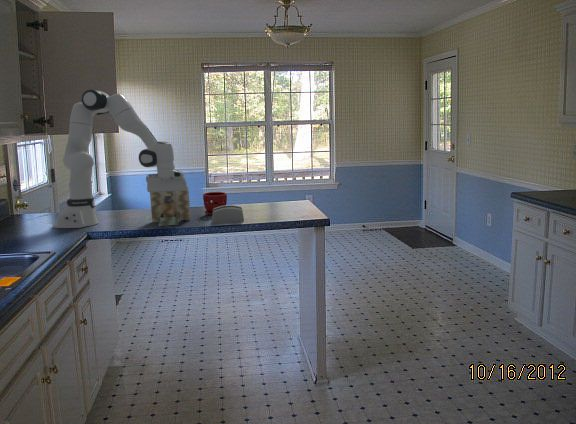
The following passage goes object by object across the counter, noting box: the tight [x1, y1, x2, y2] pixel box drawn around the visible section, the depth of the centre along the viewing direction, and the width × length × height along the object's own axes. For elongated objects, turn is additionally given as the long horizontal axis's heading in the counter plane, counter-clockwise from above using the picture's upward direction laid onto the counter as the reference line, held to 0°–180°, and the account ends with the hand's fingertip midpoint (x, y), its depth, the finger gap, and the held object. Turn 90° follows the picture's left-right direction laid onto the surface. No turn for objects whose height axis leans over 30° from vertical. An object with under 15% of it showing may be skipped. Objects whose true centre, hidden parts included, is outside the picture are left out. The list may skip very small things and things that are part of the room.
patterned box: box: [149, 185, 192, 227], centre depth 287 cm, size 20×16×18 cm
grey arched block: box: [211, 204, 245, 224], centre depth 286 cm, size 17×5×10 cm, turn 100°
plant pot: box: [202, 191, 228, 217], centre depth 308 cm, size 13×13×12 cm
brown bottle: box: [162, 195, 176, 217], centre depth 287 cm, size 5×10×12 cm, turn 5°
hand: (168, 200), depth 286 cm, fingers closed on brown bottle, 3 cm apart
